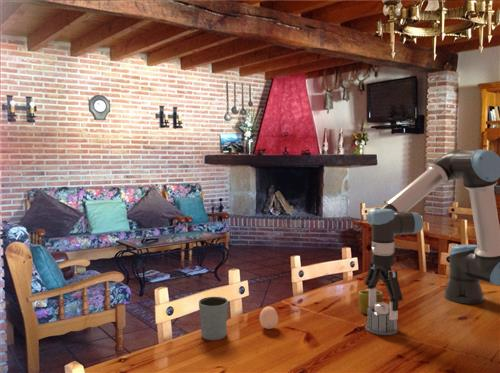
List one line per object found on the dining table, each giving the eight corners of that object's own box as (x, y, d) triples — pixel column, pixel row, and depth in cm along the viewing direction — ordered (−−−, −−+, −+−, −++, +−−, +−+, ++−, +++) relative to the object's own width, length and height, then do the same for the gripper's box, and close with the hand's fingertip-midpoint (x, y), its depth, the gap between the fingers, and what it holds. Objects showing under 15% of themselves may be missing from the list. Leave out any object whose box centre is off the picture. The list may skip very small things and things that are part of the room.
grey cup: (205, 343, 149) (205, 307, 148) (194, 332, 158) (194, 298, 157) (233, 337, 153) (233, 302, 152) (221, 327, 162) (220, 294, 161)
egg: (257, 330, 159) (256, 308, 158) (262, 323, 165) (262, 302, 164) (275, 333, 156) (275, 311, 156) (280, 326, 163) (280, 304, 162)
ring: (386, 320, 165) (386, 304, 165) (402, 331, 156) (402, 314, 155) (361, 323, 163) (362, 307, 162) (376, 334, 153) (377, 317, 153)
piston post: (386, 322, 166) (386, 298, 165) (404, 333, 155) (404, 308, 155) (359, 325, 163) (360, 301, 162) (375, 337, 152) (376, 311, 152)
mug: (388, 313, 169) (380, 287, 171) (362, 320, 172) (354, 294, 173) (387, 309, 181) (379, 284, 183) (362, 315, 183) (355, 290, 185)
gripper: (355, 246, 168) (355, 302, 170) (393, 262, 144) (393, 326, 146) (373, 245, 170) (373, 299, 172) (414, 260, 146) (413, 324, 148)
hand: (382, 312), depth 159 cm, fingers open, 13 cm apart
